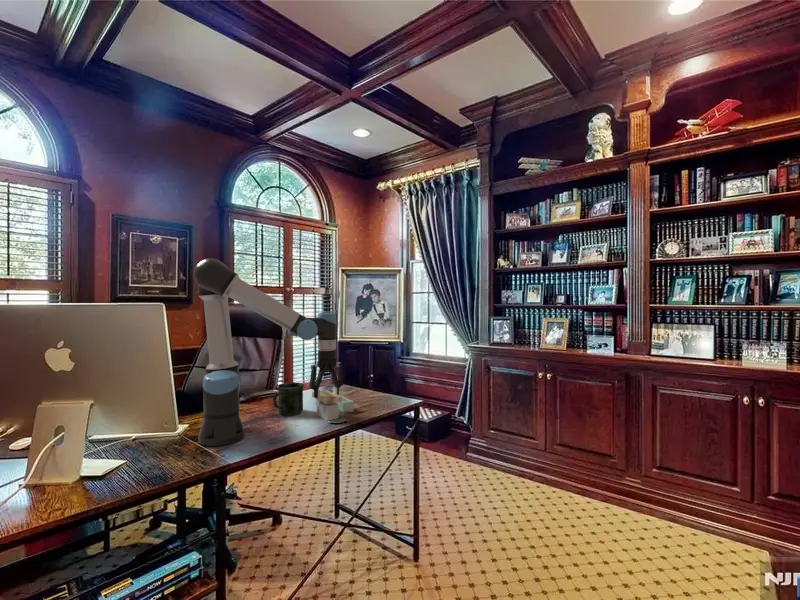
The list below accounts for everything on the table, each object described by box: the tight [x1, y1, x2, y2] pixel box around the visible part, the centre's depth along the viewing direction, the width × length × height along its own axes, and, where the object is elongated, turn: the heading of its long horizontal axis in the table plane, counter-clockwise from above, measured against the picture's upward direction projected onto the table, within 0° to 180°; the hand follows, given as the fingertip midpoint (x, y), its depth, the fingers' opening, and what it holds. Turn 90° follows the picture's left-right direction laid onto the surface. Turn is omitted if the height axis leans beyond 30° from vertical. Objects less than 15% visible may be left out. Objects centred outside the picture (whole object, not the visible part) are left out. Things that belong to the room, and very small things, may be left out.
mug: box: [272, 382, 304, 416], centre depth 179 cm, size 11×15×12 cm
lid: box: [311, 389, 342, 404], centre depth 173 cm, size 7×14×2 cm, turn 34°
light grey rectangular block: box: [316, 401, 339, 422], centre depth 173 cm, size 5×10×6 cm, turn 34°
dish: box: [337, 395, 355, 414], centre depth 184 cm, size 5×12×4 cm, turn 34°
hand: (326, 404), depth 173 cm, fingers closed on lid, 7 cm apart
